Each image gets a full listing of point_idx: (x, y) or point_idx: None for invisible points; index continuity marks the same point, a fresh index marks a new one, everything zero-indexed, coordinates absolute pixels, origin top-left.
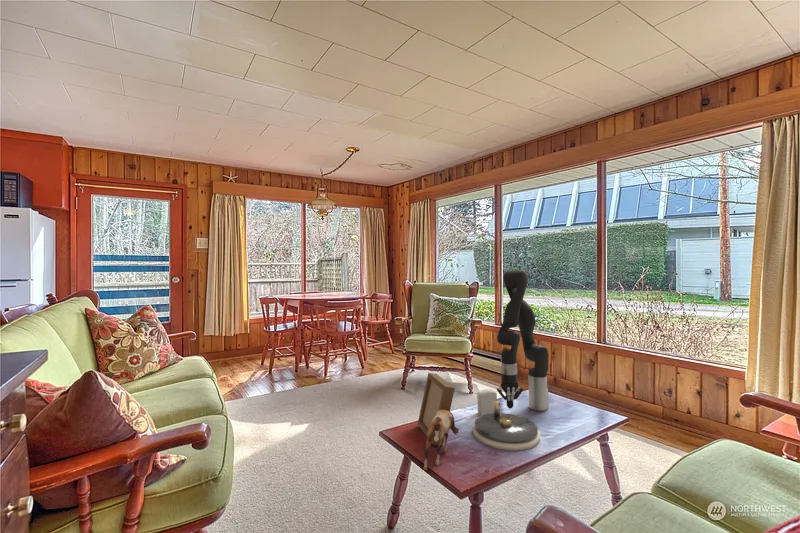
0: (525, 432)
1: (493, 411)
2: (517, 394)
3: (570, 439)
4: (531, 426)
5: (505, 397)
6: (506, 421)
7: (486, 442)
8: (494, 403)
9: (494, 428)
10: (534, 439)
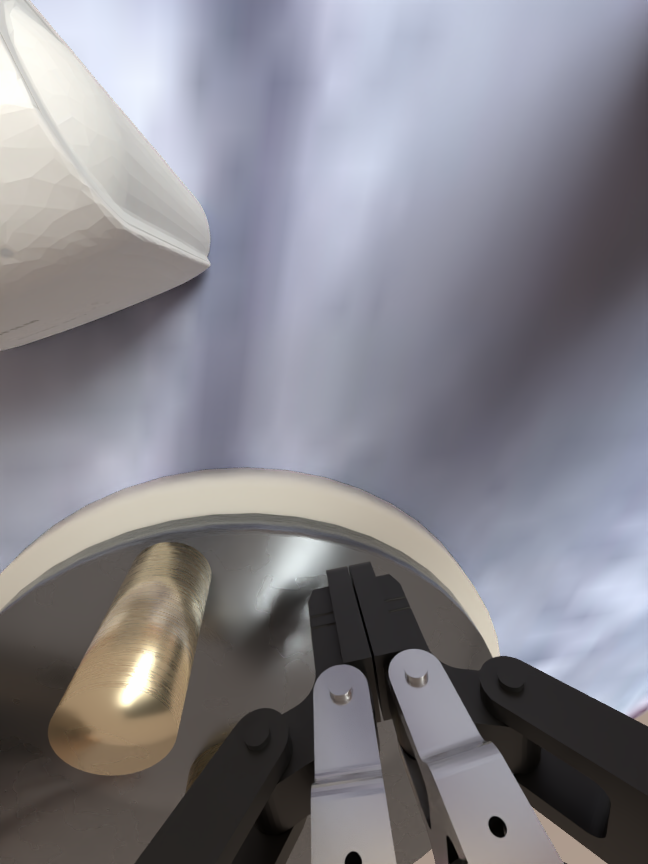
0: None
1: (153, 295)
2: (598, 848)
3: (644, 686)
4: None
5: (285, 840)
6: None
7: None
8: (78, 751)
9: (135, 839)
10: None
